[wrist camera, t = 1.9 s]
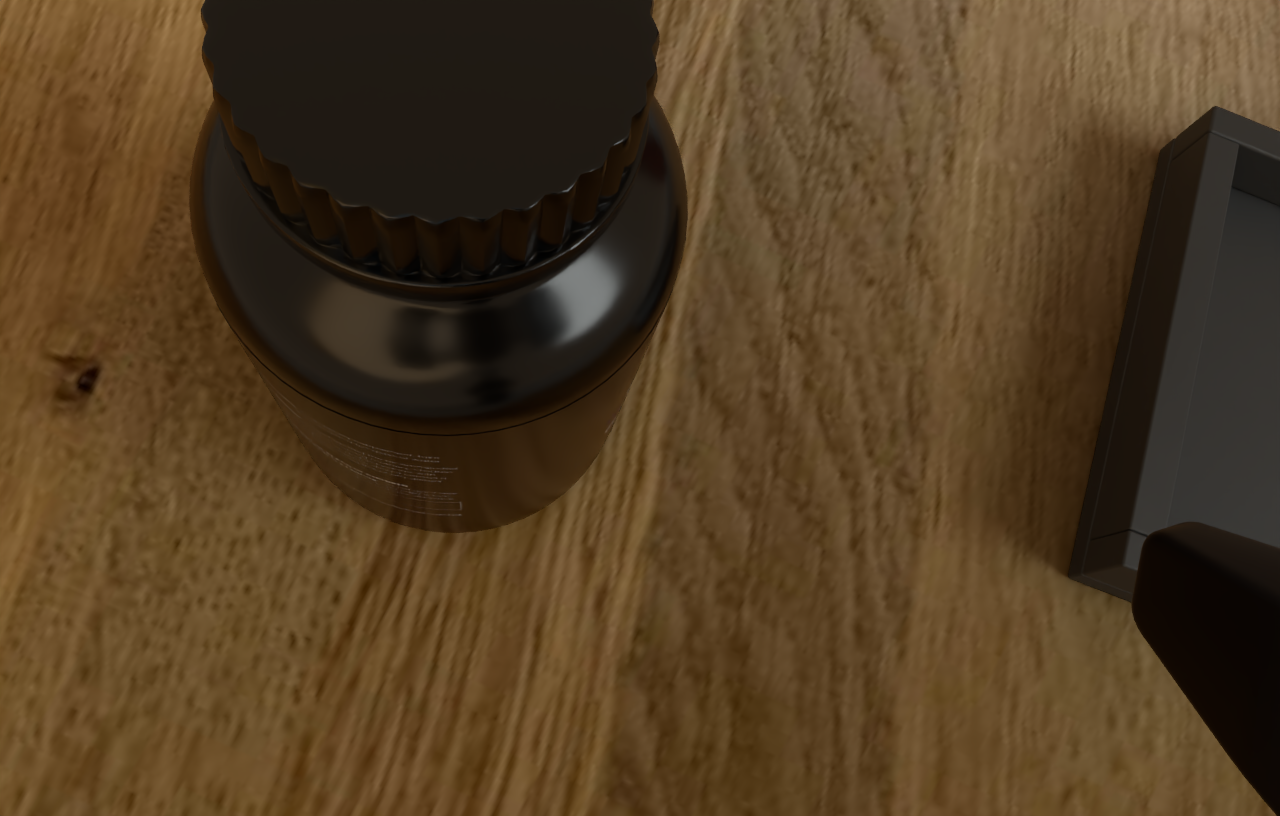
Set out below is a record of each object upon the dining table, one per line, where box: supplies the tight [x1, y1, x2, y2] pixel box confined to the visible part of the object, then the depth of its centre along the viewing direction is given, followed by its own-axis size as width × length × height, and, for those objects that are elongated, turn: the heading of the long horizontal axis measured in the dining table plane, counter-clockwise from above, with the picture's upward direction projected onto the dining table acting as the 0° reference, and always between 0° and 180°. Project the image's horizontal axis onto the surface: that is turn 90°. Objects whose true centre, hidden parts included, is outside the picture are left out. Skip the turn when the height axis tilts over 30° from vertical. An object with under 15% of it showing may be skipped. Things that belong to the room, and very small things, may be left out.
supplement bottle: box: [189, 0, 688, 533], centre depth 16 cm, size 7×7×12 cm
